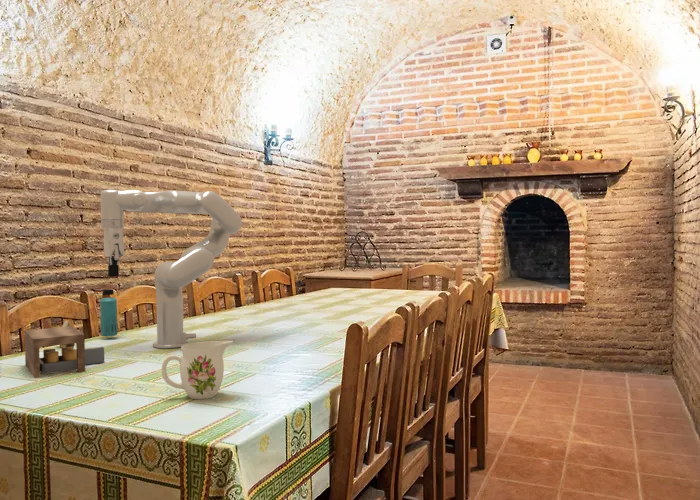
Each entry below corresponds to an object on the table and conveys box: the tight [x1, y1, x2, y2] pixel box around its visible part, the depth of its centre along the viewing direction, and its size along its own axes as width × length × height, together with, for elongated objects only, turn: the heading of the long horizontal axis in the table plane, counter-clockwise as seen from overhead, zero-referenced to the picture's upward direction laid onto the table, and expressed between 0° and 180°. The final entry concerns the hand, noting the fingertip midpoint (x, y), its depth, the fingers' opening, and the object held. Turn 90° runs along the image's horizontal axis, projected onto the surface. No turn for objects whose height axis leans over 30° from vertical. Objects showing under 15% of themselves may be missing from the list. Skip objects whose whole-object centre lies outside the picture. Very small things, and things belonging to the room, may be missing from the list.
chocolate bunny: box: [58, 320, 76, 349], centre depth 226 cm, size 6×8×10 cm
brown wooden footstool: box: [24, 325, 86, 379], centre depth 189 cm, size 14×20×11 cm
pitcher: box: [161, 340, 234, 400], centre depth 155 cm, size 11×18×14 cm, turn 105°
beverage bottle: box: [99, 288, 119, 337], centre depth 242 cm, size 6×7×20 cm
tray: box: [39, 346, 105, 375], centre depth 191 cm, size 19×11×6 cm, turn 126°
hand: (113, 276), depth 214 cm, fingers closed
